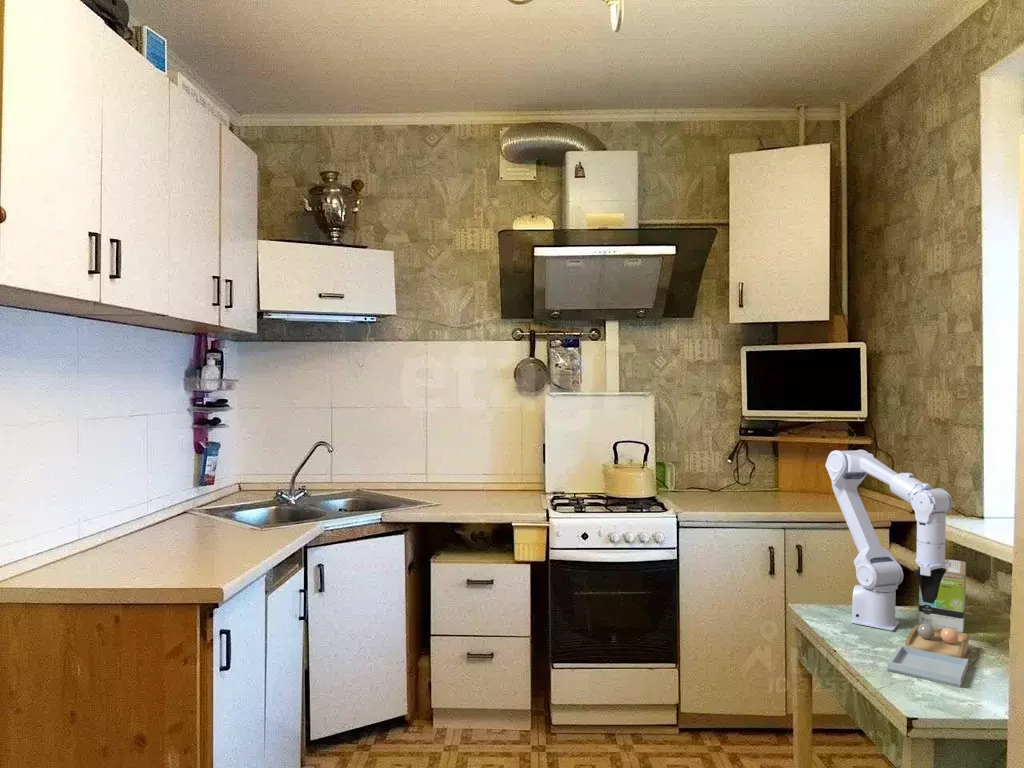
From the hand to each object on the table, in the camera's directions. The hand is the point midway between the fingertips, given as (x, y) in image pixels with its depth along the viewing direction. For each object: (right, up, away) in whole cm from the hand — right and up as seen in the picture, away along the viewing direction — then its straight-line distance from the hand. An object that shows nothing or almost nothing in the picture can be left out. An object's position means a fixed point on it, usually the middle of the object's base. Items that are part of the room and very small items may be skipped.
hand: (929, 600), depth 168 cm
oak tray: (-1, -10, -5) cm, 11 cm away
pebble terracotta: (+1, -6, -6) cm, 9 cm away
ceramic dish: (-9, -10, -15) cm, 20 cm away
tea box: (+12, -10, +16) cm, 23 cm away
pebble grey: (-3, -6, -4) cm, 7 cm away
